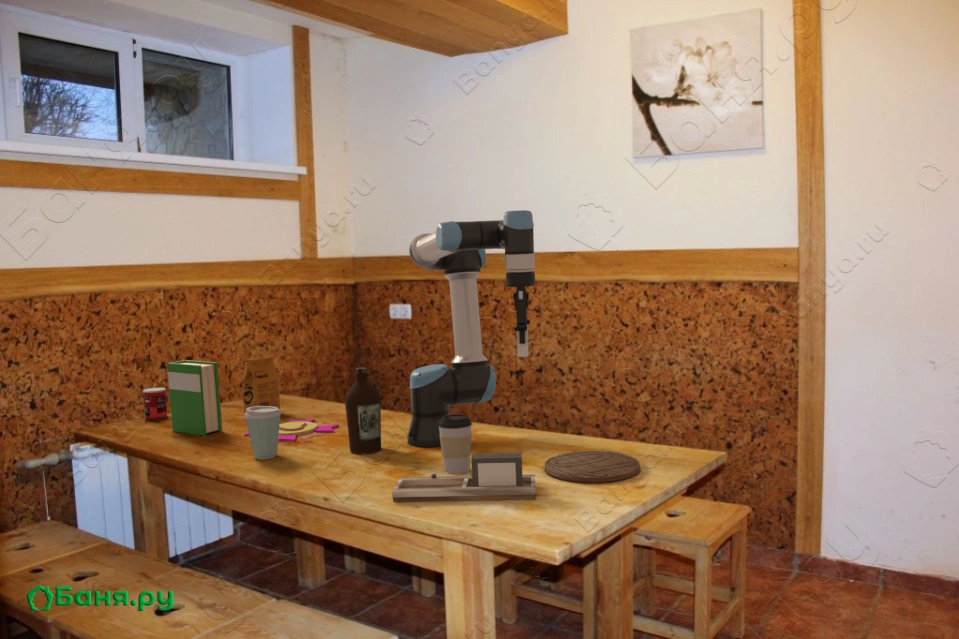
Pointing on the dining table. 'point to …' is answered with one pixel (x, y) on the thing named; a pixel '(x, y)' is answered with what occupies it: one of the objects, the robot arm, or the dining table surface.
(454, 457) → the coffee cup
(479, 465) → the picture frame
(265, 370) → the coffee package
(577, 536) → the dining table surface
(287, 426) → the wall ornament
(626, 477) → the trivet
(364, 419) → the olive oil
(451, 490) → the wooden compartment tray
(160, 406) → the canned food
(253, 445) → the disposable coffee cup
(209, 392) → the hardback book
